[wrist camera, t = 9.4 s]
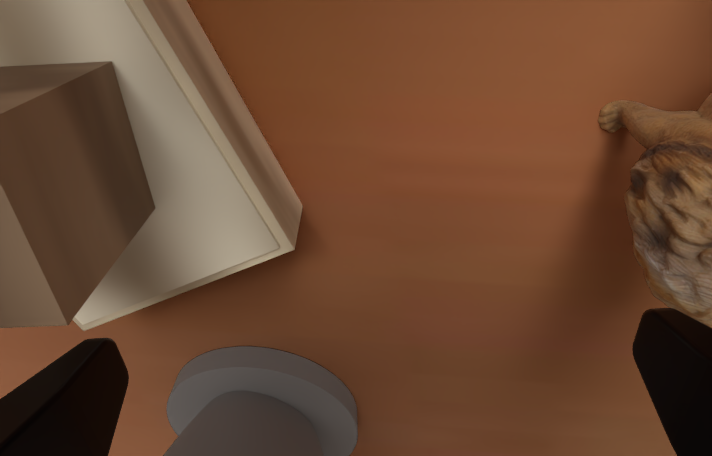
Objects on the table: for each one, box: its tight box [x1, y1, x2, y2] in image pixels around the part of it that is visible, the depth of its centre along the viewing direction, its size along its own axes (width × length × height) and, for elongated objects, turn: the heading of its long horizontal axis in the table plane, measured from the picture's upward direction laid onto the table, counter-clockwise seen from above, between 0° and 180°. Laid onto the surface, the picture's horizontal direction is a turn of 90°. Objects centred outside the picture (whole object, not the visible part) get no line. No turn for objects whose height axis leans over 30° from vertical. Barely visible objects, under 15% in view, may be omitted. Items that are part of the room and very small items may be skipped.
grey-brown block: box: [0, 61, 155, 328], centre depth 13 cm, size 5×5×6 cm
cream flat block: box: [0, 0, 303, 331], centre depth 17 cm, size 10×14×4 cm
